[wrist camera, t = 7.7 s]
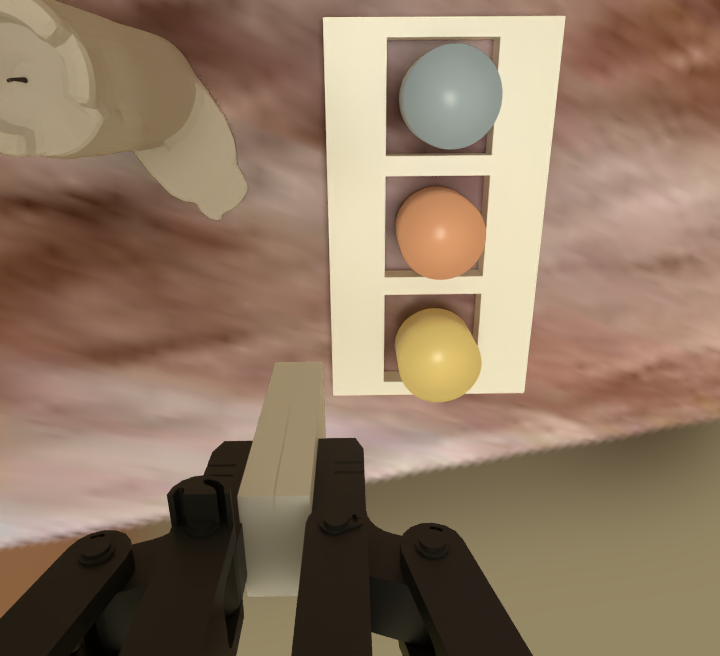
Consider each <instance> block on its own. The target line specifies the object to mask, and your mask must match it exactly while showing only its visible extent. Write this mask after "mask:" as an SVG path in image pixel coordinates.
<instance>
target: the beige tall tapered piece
mask: <svg viewBox="0 0 720 656" xmlns="http://www.w3.org/2000/svg"><path fill="white" fill-rule="evenodd" d="M123 151H133V152H134V153H135V154H136V156H137V157H138V158H139V160H140V161H141V162H142V164H143V165H144V166H145V168H146V169H147V170H148V172H149V173H150V174H151V175H152V176H153V177H154V178H155V179H156V180H157V181H158V182H159V183H160V184H161V185H162V186H163V187H164V188H165V189H166V190H167V191H168V192H169V193H170V194H171V195H173V196H175V197H177V198H179V199H181V200H182V201H188V202H194V203H196V204H197V206H198V207H199V209H200V210H201V212H202V213H203V214H205V215H206V216H207V217H208V218H210V219H214V220H219V219H221V218H222V214H224V213H226V212H227V211H229V210H231V209H232V208H234V207H235V206H236V205H237V204H239V202H240V201H241V200H242V199H243V198H244V196H245V194H246V193H247V182H246V180H245V178H244V177H243V175H242V173H241V171H240V169H239V167H238V165H237V153H236V146H235V139H234V137H233V134H232V132H231V130H230V127H229V125H228V123H227V120H226V118H225V116H224V114H223V113H222V111H221V110H220V108H219V107H218V106H217V104H216V103H215V101H214V100H213V98H212V97H211V95H210V94H209V92H208V91H207V90H206V88H205V87H204V85H203V84H202V83H201V81H200V80H199V79H198V77H197V76H196V75H195V73H194V71H193V70H192V68H191V66H190V64H189V63H188V61H187V59H186V58H185V57H184V55H183V54H182V53H181V51H180V50H179V49H177V48H176V47H175V46H174V45H173V44H172V43H170V42H169V41H167V40H166V39H164V38H162V37H160V36H158V35H155V34H152V33H149V32H146V31H143V30H140V29H136V28H133V27H129V26H126V25H122V24H119V23H116V22H113V21H111V20H108V19H106V18H103V17H101V16H98V15H95V14H93V13H90V12H87V11H84V10H81V9H78V8H75V7H72V6H69V5H66V4H64V3H61V2H58V1H55V0H0V153H1V154H4V155H7V156H11V157H17V158H22V157H27V156H42V157H51V158H62V159H74V158H79V157H88V156H98V155H106V154H113V153H118V152H123Z"/></svg>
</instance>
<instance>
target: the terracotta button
mask: <svg viewBox="0 0 720 656" xmlns="http://www.w3.org/2000/svg"><path fill="white" fill-rule="evenodd" d="M395 232H396V237H397V241H398V244H399V246H400V249H401V252H402V255H403V257H404V259H405V261H406V262H407V264H408V265H409V266H410V267H411V268H412V269H413V270H414V271H415V272H416V273H418V274H420V275H422V276H424V277H426V278H429V279H434V280H447V279H452V278H455V277H457V276H460V275H462V274H463V273H465V272H467V271H468V270H469V269H470V268H472V266H473V265H474V264H475V263H476V262H477V261H478V259H479V258H480V256H481V254H482V252H483V249H484V246H485V241H486V228H485V223H484V220H483V218H482V216H481V214H480V212H479V211H478V210H477V208H476V207H475V206H474V205H473V204H472V203H470V202H469V201H468V200H467V199H466V198H464V197H463V196H462V195H461V194H459V193H458V192H457V191H455V190H453V189H450V188H447V187H442V186H431V187H426V188H423V189H421V190H419V191H417V192H415V193H414V194H412V195H411V196H410V197H409V198H407V200H406V201H405V202H404V203H403V205H402V206H401V208H400V210H399V212H398V214H397V218H396V223H395Z"/></svg>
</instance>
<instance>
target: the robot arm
mask: <svg viewBox="0 0 720 656" xmlns="http://www.w3.org/2000/svg"><path fill="white" fill-rule="evenodd" d="M167 499H168V505H169V511H170V518H171V524H172V528H171V530H170V532H169V533H168V534H166V535H164V536H162V537H159V538H156V539H153V540H149V541H145V542H141V543H137V544H133V545H132V544H131V540H130V539H129V537H128V536H127V535H126V534H125V533H122V532H119V531H115V530H104V531H100V532H96V533H91V534H89V535H87V536H85V537H83V538H81V539H79V540H77V541H76V542H75V543H74V544H72V545H71V546H70V547H69V548H68V549H67V550H66V551H65V552H64V553H63V554H62V555H61V556H60V557H59V558H58V559H57V560H56V561H55V562H54V563H53V564H52V565H51V566H50V567H49V568H48V569H47V571H46V572H45V573H44V574H43V575H42V576H41V577H40V578H39V579H38V580H37V581H36V582H35V583H34V584H33V585H32V586H31V587H30V588H29V589H28V590H27V592H25V593H24V595H23V596H22V597H21V598H20V599H19V600H18V601H17V602H16V603H15V604H14V605H13V606H12V607H11V608H10V609H9V610H8V611H7V612H6V613H5V614H4V615H3V616H2V617H1V618H0V656H236V654H237V649H238V644H239V639H240V634H241V629H242V624H243V619H244V609H243V599H242V597H243V592H244V588H245V583H246V585H247V595H248V597H258V596H298V599H297V608H296V617H295V627H294V636H293V645H292V655H291V656H372V638H371V632H373V633H376V634H380V635H383V636H386V637H390V638H394V639H397V640H398V641H399V647H400V650H401V653H402V655H403V656H533V655H532V653H531V652H530V650H529V648H528V647H527V645H526V643H525V642H524V640H523V639H522V637H521V635H520V634H519V632H518V630H517V629H516V627H515V625H514V624H513V622H512V620H511V619H510V617H509V615H508V614H507V612H506V610H505V609H504V607H503V605H502V604H501V602H500V600H499V599H498V597H497V595H496V594H495V592H494V590H493V589H492V587H491V585H490V584H489V582H488V580H487V579H486V577H485V575H484V574H483V572H482V570H481V569H480V567H479V566H478V564H477V562H476V560H475V559H474V557H473V556H472V554H471V552H470V550H469V549H468V547H467V545H466V544H465V542H464V541H463V539H462V538H461V537H460V536H459V535H458V533H457V532H456V531H454V530H452V529H450V528H448V527H447V526H445V525H440V524H436V523H421V524H418V525H415V526H413V527H410V529H408V530H407V531H406V532H405V533H404V534H403V536H400V535H396V534H392V533H389V532H386V531H383V530H382V529H380V528H378V527H376V526H375V525H374V524H373V523H372V522H371V521H370V519H369V518H368V516H367V512H366V502H365V501H366V500H365V476H364V451H363V447H362V446H361V445H360V444H359V442H358V441H357V440H356V438H326V429H325V400H324V371H323V362H275V365H274V369H273V372H272V376H271V379H270V383H269V386H268V390H267V393H266V397H265V401H264V404H263V408H262V411H261V415H260V418H259V422H258V425H257V429H256V432H255V436H254V439H253V441H224V442H223V443H222V444H221V445H220V446H219V447H218V448H217V449H216V450H214V451H213V452H212V455H211V457H210V460H209V462H208V465H207V467H206V470H205V472H204V475H203V476H195V477H191V478H189V479H186V480H183V481H181V482H180V483H178V484H177V485H175V486H174V487H172V489H171V490H170V491H169V493H168V494H167Z"/></svg>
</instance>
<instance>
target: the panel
mask: <svg viewBox="0 0 720 656" xmlns="http://www.w3.org/2000/svg"><path fill="white" fill-rule="evenodd" d="M564 25H565V16H466V17H323V36H324V73H325V109H326V146H327V182H328V219H329V256H330V292H331V329H332V366H333V396H336V395H405V394H412V393H411V392H410V391H409V390H408V389H407V388H406V387H405V385H404V384H403V382H402V380H401V377H400V373H399V371H384V295H406V294H476V297H475V311H474V325H473V339H474V340H475V342H476V344H477V346H478V348H479V351H480V354H481V359H482V366H481V371H480V375H479V377H478V379H477V381H476V382H475V384H474V385H473V386H472V388H471V389H470V390H468V391H467V392H466V393H465V394H474V393H524V388H525V379H526V370H527V361H528V352H529V343H530V334H531V325H532V316H533V307H534V298H535V288H536V279H537V270H538V261H539V252H540V243H541V234H542V225H543V216H544V207H545V198H546V189H547V180H548V170H549V161H550V152H551V143H552V134H553V125H554V116H555V107H556V98H557V89H558V80H559V71H560V62H561V53H562V43H563V34H564ZM387 40H494V41H493V55H492V62H493V63H494V65H495V66H496V68H497V70H498V72H499V75H500V78H501V82H502V90H503V95H502V105H501V108H500V112H499V114H498V117H497V119H496V121H495V123H494V124H493V126H492V127H491V129H490V130H489V131H488V132H487V141H486V153H416V154H386V64H387ZM472 175H484V183H483V198H482V212H481V216H482V218H483V220H484V223H485V228H486V241H485V246H484V249H483V252H482V254H481V256H480V258H479V259H478V269H469V270H468V271H467V272H465V273H463V274H462V275H460V276H457V277H455V278H452V279H447V280H434V279H429V278H426V277H424V276H422V275H420V274H418V273H416V272H415V271H414V270H385V176H472Z"/></svg>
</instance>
